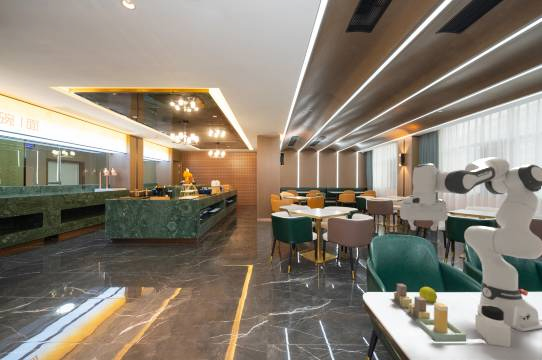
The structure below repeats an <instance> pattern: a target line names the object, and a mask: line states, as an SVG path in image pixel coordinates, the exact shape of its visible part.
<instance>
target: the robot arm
mask: <svg viewBox="0 0 542 360" xmlns="http://www.w3.org/2000/svg"><path fill="white" fill-rule="evenodd" d="M482 184H484V187H485V189H486V190H487V191H488V192H489V193H490V194H493V195H504V194H506V198H505V199H504V201H503V202H502V204H501V205H500V207H499V208H498V210H497V212H496V214H495V221H496V223H497V224H498V225H499V226H500V227H501V228H499V227H498V228H497V227H493V226H486V225H485V226H484V225H472V226H469V227H467V229H465V231H464V234H463V235H464V236H463V237H464V241H465V243H466V244H467V245H468V246H469V247H471V248H472V249H473V251H474V252H475V253H476V255H477V256H478V258H479V260H480V263H481V268H482V280H481V284H480V287H481V293H480V300H479V304H478V305H477V308H478V309H477V313H478V315H482V305H492V306H495V307H498V308H500V309H501V310H502V311H503V312H504V323H505V324H507V325H508V326H509V327H510V328H512V329H516V330H518V331H521V332H527V331H533V330H539V329H542V319H540V318H539V312H538V310H537V309H536V307H534V306H533V305H532V304H530V303H529V302H528V301H526V300H525V299H524V298H523V296H527V297H528V295H529V293H528V291H527V290H524V289H523V288H521V289H519V273H518V271H517V269H516V267H514V266H513V265H512V264H511V263H509V262H507V261H506V260H505V259H504V257H503V256H509V257H513V258H517V259H526V260H527V259H528V260H535V259H538V258H540V257H541V256H542V239H541V238H540V237H539V236H537V235H536V234H534V232H532V231H531V229H530V226H531V223H532V221H533V218H534V216H535V214H536V212H537V208H538V205H539V204H538V203H539V197H538V196H537V195H536V194H535V193H536V192H539V191H540V190H542V168H541V167H540V166H538V165H537V164H524V165H523V164H522V165H521V166H517V167H513V168H510V164H509V162H508V161H507V160H506V159H505V158H502V157H498V156H497V157H494V156H492V157H486V158H480V159H477V160H473V161H470V162H469V163H467V165H466V166H465V167H464V169H459V170H458V169H457V170H447V171H442V170H440V169H438V168H437V167H436V166H435V164H434V163H422V164H417V165H416V166H415V167H414V168H413V172H412V185H413V190H412V194H411V195H407V196H404V197H402V198H401V205H400V207H399V216H400V217H399V218H400V219H402V220H405V221H407V223H408V224H409V226H410V231H411V230H412V231H416V230H417V226H416V225H415V224H414V223H415V221H432V222H433V223H432V225H431V226H430V230H431V231H435V232H436V231H437V228H438V226H439V225H440V221H441V222H442V221H447V220H448V218H449V215H448V209H447V203H446V201H444V200H443V199H437V193H446V194H450V193H451V194H456V195H458V194H459V195H464V194H465V195H466V194H467V193H469V192H471V191H472V190H473V189H474V188H475V187H477V186H479V185H482ZM522 295H523V296H522Z"/></svg>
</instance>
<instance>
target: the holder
mask: <svg viewBox="0 0 542 360" xmlns="http://www.w3.org/2000/svg"><path fill="white" fill-rule="evenodd" d="M407 289H408V287H407V285H406V284H404V283H396V291H394V292H393V298H389V300H390V301H392V303H394V304H395V305H396V306H397V307H398V308H399V309H401V310H402V311H403V312H404V313H405V314H406V315H407V316H408V317H409V318H411V319H412V320H413V321H414V322H415V323H417V322H416V320H417V319H432V318H431V316H430V315H431V313H430V312H429V311H427V301H426V300H425V299H424V298H423V297H420V296H414V302H413V299H412V298H410V297H409V295H408V294H407ZM407 295H408V296H407Z"/></svg>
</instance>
